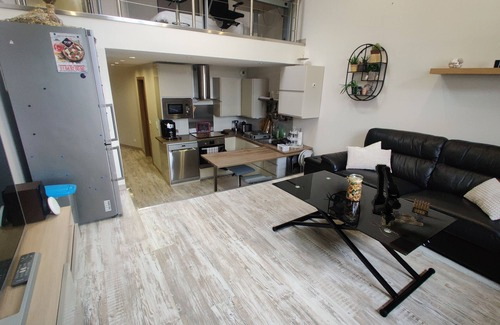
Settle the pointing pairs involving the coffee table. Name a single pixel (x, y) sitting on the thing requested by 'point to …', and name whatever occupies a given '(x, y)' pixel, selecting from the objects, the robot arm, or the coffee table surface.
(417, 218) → the shaft stand
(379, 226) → the pliers
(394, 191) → the robot arm
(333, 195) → the coffee table surface
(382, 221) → the block
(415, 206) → the ammunition clip
